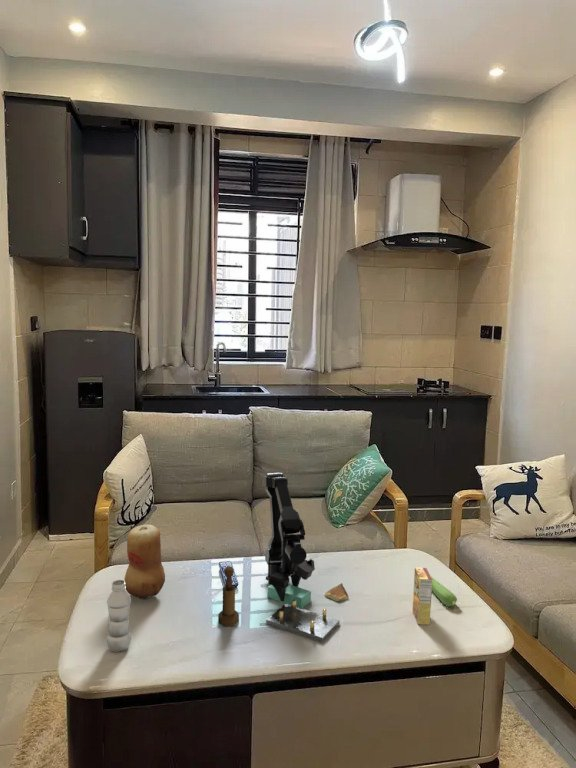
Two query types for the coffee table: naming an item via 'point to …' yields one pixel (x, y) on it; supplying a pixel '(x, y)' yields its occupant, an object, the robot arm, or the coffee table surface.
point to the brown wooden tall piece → (228, 602)
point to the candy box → (422, 596)
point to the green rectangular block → (291, 595)
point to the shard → (337, 593)
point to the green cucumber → (443, 593)
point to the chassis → (303, 622)
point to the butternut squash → (144, 562)
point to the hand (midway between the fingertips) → (289, 595)
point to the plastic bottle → (118, 617)
